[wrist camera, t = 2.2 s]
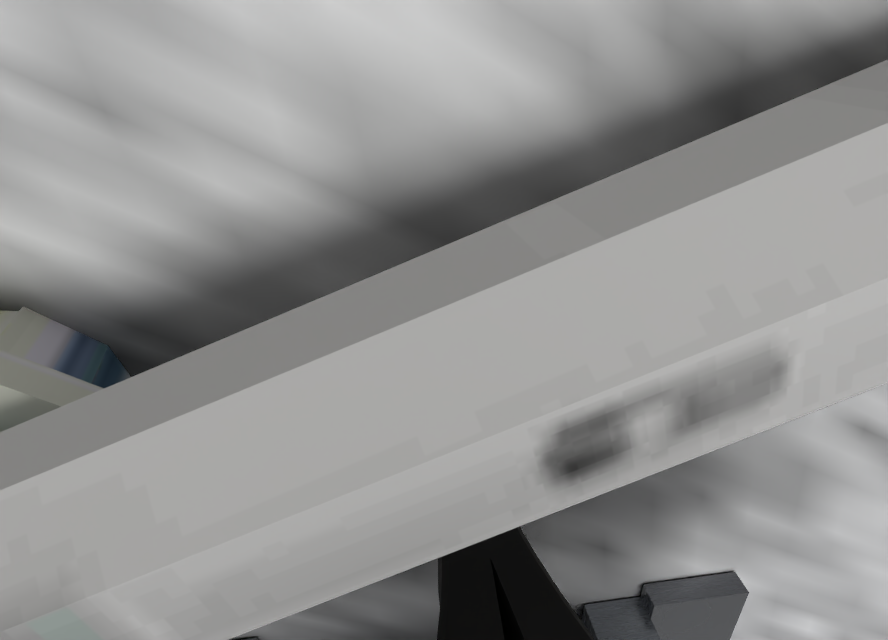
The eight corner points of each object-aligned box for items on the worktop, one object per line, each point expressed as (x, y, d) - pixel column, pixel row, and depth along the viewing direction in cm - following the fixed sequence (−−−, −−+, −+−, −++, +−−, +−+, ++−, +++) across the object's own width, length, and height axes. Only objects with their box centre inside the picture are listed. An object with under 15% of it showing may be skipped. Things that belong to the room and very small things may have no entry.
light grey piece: (1600, 214, 7) (-509, 1266, 5) (1018, 128, 13) (-99, 599, 11) (2078, -365, 5) (-2009, 1304, 2) (1085, -156, 10) (-391, 384, 8)
